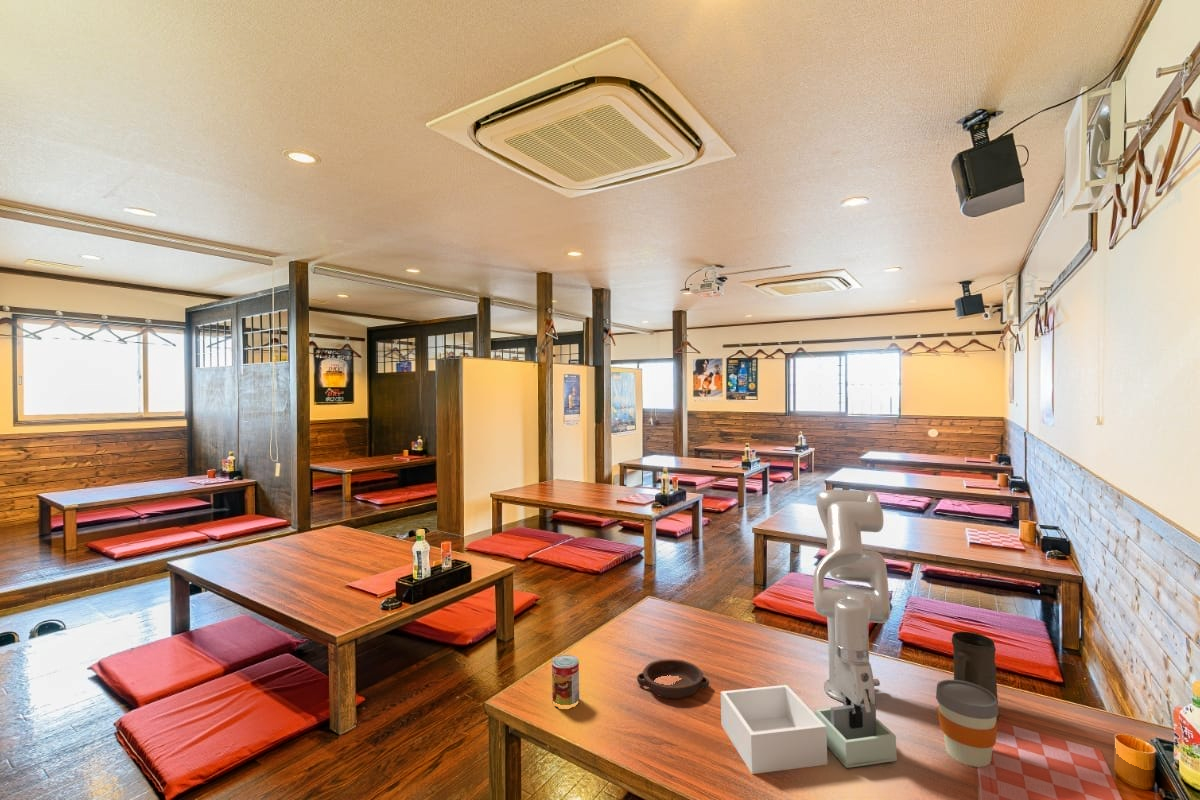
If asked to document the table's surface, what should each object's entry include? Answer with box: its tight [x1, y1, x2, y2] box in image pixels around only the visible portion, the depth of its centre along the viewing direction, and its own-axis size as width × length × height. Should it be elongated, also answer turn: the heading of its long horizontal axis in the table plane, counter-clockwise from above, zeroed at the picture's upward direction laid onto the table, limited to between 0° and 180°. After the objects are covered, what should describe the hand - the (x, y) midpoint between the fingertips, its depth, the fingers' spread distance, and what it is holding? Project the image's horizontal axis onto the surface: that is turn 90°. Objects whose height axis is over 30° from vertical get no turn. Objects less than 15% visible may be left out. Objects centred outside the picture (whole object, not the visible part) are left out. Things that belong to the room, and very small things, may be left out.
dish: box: [636, 658, 710, 700], centre depth 159 cm, size 18×22×5 cm
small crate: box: [814, 703, 897, 769], centre depth 129 cm, size 13×13×10 cm
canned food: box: [551, 654, 580, 705], centre depth 152 cm, size 8×8×12 cm
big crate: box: [720, 684, 828, 775], centre depth 132 cm, size 19×19×9 cm
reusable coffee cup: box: [935, 679, 1000, 768], centre depth 127 cm, size 13×13×15 cm
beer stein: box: [951, 631, 1000, 718], centre depth 144 cm, size 15×11×20 cm
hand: (853, 724), depth 129 cm, fingers closed on small crate, 1 cm apart
